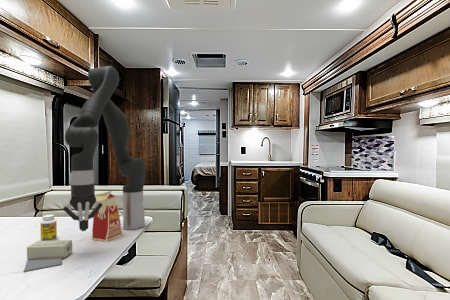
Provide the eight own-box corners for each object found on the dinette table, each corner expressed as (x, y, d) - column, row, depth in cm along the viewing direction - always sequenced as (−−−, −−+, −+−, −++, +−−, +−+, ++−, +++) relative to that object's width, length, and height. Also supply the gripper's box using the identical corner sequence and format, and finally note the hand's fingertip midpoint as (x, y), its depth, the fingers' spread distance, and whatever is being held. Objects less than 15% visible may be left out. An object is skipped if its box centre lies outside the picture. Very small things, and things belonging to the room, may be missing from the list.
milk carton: (122, 235, 117) (122, 189, 117) (107, 242, 108) (106, 192, 108) (105, 233, 120) (105, 188, 120) (89, 239, 111) (88, 191, 111)
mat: (62, 251, 99) (62, 250, 99) (61, 264, 88) (61, 263, 88) (28, 257, 94) (28, 256, 94) (23, 272, 83) (23, 270, 83)
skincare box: (72, 251, 98) (37, 253, 97) (72, 239, 98) (37, 240, 97) (64, 258, 92) (26, 260, 91) (64, 245, 92) (26, 247, 91)
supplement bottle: (40, 243, 108) (40, 218, 107) (40, 239, 112) (40, 215, 112) (56, 240, 111) (56, 216, 111) (56, 237, 115) (56, 213, 115)
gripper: (101, 180, 103) (102, 225, 103) (61, 182, 97) (62, 230, 97) (104, 182, 97) (104, 230, 97) (61, 185, 90) (62, 236, 90)
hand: (83, 230), depth 97 cm, fingers closed
